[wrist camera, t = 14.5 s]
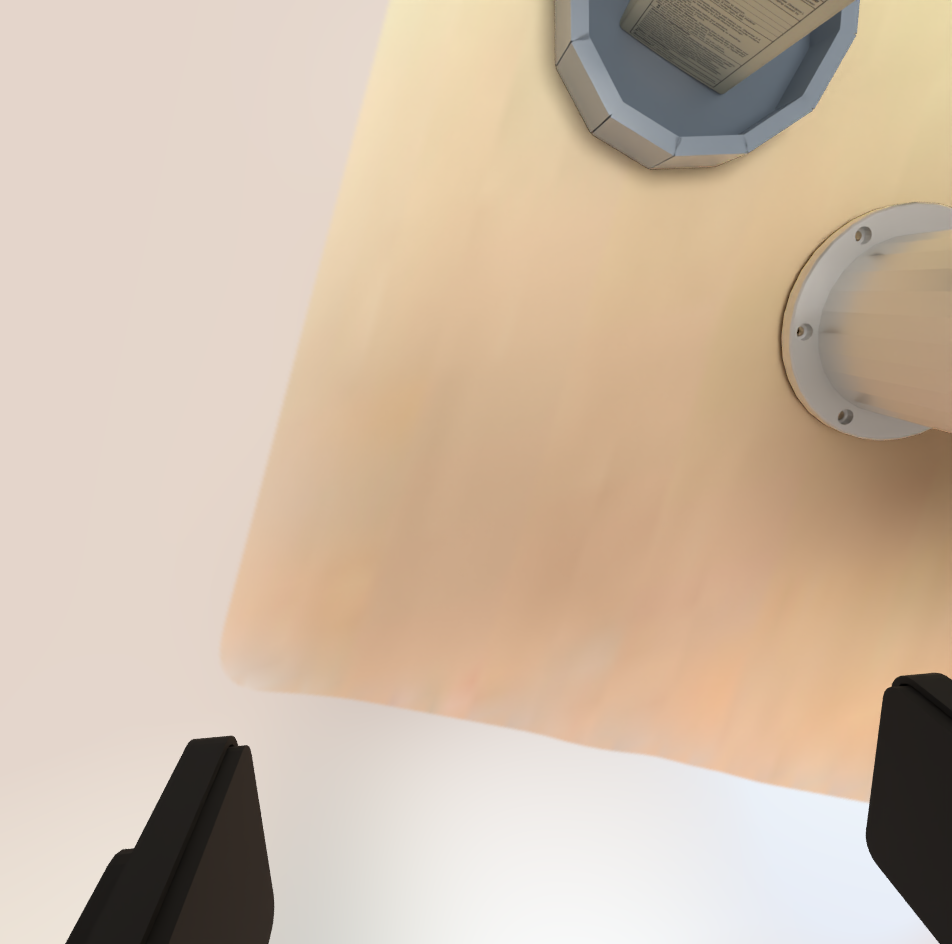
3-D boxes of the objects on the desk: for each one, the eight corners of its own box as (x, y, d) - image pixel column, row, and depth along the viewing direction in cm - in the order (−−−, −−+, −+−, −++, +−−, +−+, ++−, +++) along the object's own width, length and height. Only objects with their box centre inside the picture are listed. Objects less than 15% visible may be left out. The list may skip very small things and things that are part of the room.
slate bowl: (828, -139, 32) (876, -190, 28) (805, 163, 35) (846, 149, 32) (552, -137, 31) (569, -189, 27) (557, 172, 34) (571, 159, 31)
